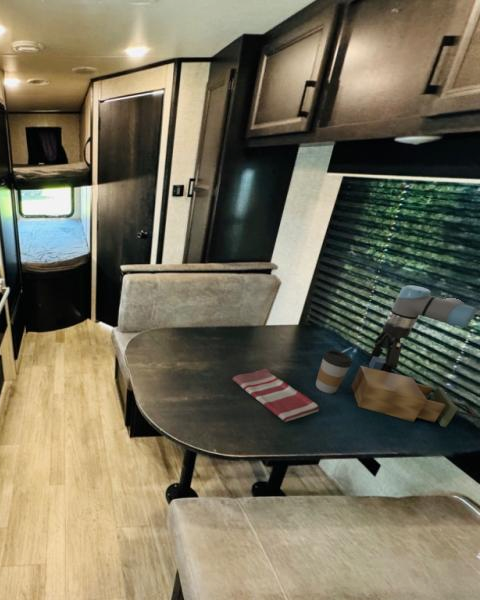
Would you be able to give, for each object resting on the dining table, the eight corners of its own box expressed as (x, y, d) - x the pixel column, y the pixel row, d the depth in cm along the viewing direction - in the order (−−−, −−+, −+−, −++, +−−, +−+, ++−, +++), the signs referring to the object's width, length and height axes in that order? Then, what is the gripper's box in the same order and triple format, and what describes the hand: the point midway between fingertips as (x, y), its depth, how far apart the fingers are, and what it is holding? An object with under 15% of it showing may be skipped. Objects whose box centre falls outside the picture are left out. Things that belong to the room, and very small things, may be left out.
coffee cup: (314, 378, 125) (327, 346, 119) (340, 388, 120) (355, 355, 113) (309, 388, 120) (322, 355, 114) (336, 399, 114) (351, 365, 108)
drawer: (457, 411, 107) (469, 394, 104) (475, 435, 98) (488, 416, 95) (381, 392, 116) (390, 375, 113) (391, 412, 107) (400, 394, 104)
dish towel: (263, 371, 129) (265, 366, 128) (319, 411, 109) (322, 405, 108) (231, 380, 124) (232, 375, 123) (283, 424, 104) (285, 418, 103)
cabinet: (401, 398, 114) (412, 377, 110) (413, 421, 104) (426, 399, 100) (351, 386, 121) (360, 365, 117) (358, 406, 111) (368, 385, 107)
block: (382, 368, 131) (387, 359, 129) (386, 374, 128) (390, 364, 126) (368, 364, 133) (372, 355, 131) (371, 370, 130) (375, 361, 128)
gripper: (377, 309, 133) (358, 351, 142) (396, 336, 113) (373, 383, 122) (401, 313, 130) (380, 356, 138) (424, 341, 110) (398, 389, 119)
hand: (376, 369), depth 130 cm, fingers open, 13 cm apart
